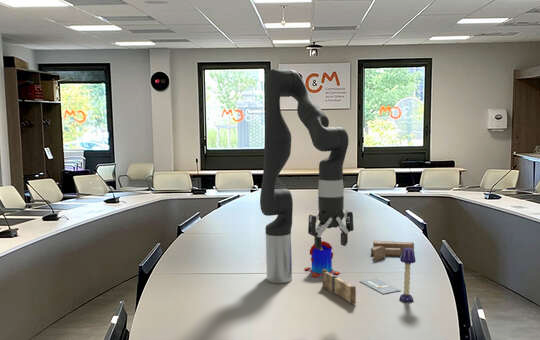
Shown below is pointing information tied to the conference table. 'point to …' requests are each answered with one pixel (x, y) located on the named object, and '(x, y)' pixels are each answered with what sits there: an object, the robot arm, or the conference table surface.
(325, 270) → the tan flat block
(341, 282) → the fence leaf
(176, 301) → the conference table surface
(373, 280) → the card
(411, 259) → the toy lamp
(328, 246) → the fantasy tower
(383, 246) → the wooden block set
